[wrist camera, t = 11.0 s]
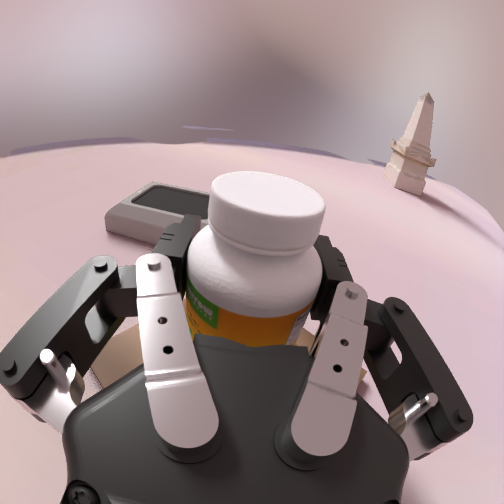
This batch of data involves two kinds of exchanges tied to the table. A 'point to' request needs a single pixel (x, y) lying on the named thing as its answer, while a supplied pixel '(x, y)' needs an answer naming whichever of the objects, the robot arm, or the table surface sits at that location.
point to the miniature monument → (413, 150)
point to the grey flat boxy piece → (156, 211)
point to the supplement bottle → (255, 260)
